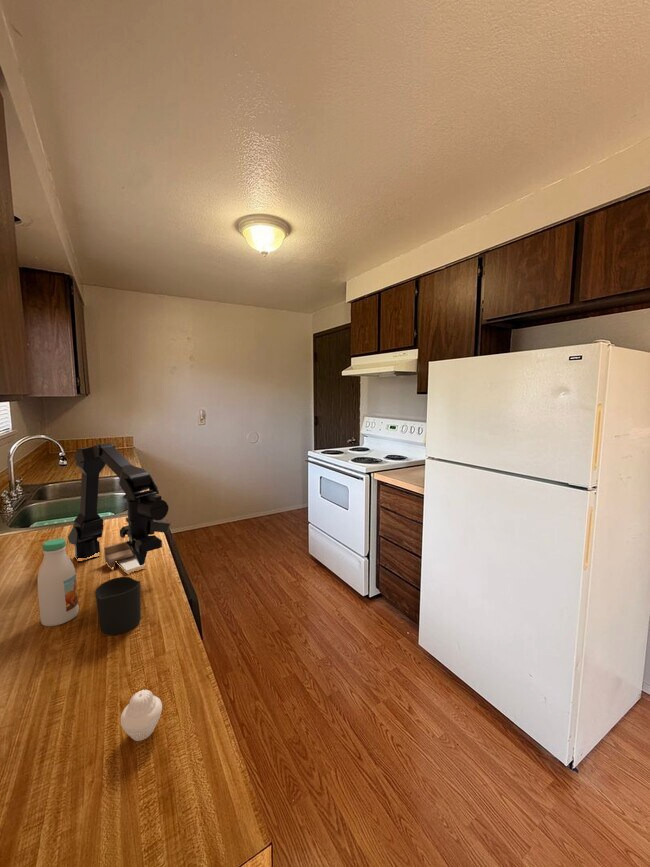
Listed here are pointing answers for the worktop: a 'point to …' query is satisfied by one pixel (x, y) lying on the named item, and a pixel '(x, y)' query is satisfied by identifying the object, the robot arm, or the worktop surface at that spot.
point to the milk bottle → (57, 585)
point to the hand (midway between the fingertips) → (141, 564)
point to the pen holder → (118, 605)
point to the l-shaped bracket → (116, 553)
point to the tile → (129, 564)
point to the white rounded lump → (141, 715)
